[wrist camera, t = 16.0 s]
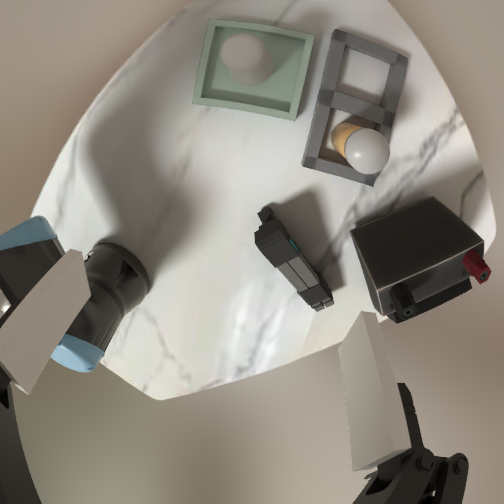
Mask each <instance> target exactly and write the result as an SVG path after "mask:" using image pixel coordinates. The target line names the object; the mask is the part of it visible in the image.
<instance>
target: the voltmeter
mask: <svg viewBox="0 0 504 504" xmlns="http://www.w3.org/2000/svg"><path fill="white" fill-rule="evenodd" d="M350 234H351V237H352V240H353V243H354V246H355V249H356V252H357V255H358V258H359V261H360V264H361V267H362V270H363V273H364V276H365V280H366V283H367V286H368V290H369V293H370V297H371V300H372V303H373V305H374V308H375V309H376V310H377V311H378V312H379V313H380V314H381V315H382V316H385V315H387V316H388V317H389V318H390V319H392V320H393V321H394V322H395V323H400V322H403V321H406V320H408V319H410V318H412V317H415V316H417V315H419V314H422V313H424V312H426V311H428V310H430V309H433V308H435V307H437V306H439V305H441V304H443V303H445V302H447V301H449V300H451V299H453V298H455V297H457V296H459V295H461V294H463V293H465V292H467V291H468V290H470V289H472V286H471V282H470V279H469V277H470V276H473V277H475V278H476V280H477V281H478V282H479V284H482V283H483V282H485V281H487V280H488V278H489V276H490V274H491V270H490V268H489V267H488V266H487V264H486V263H485V261H484V240H483V239H482V238H481V237H480V236H479V235H478V234H477V233H476V232H475V231H474V230H472V229H471V228H470V227H469V226H468V225H467V224H466V223H465V222H464V221H463V220H461V219H460V218H459V217H458V216H457V215H456V214H455V213H453V212H452V211H451V210H450V209H449V208H448V207H446V206H445V205H444V204H443V203H441V202H440V201H439V200H438V199H437V198H435V197H434V196H432V197H429V198H427V199H425V200H422V201H420V202H417V203H415V204H413V205H410V206H408V207H406V208H403V209H401V210H398V211H396V212H394V213H391V214H389V215H386V216H384V217H381V218H379V219H377V220H374V221H372V222H369V223H367V224H364V225H362V226H359V227H357V228H355V229H352V230H350Z"/></svg>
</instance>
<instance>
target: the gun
mask: <svg viewBox="0 0 504 504" xmlns="http://www.w3.org/2000/svg"><path fill="white" fill-rule="evenodd" d="M257 214H258V216H259V218H260V220H261V222H262V224H263V225H261V226H259V230H258V231H256V232H254V234H255V244H256V246H257V247H258V249H259V250H260V251H261V252H262V254H263V255H264V256H265V257H266V258H267V259H268V260H269V261H270V263H271V264H272V265H273V266H274V267H275V268H276V267H277V268H278V269H279V270H280V272H281V273H282V274H283V275H284V276H285V277H286V278H287V279H288V281H289V282H290V283H291V284H292V285H293V286H294V287H295V288H296V289H297V293H298V294H299V295H300V296H301V297H302V298H303V299H304V301H305V302H306V303H307V304H308V305H310V306H311V307H312V309H313V308H314V309H315V310H316V311H317V312H318V311H320V310H322V309H324V305H325V306H326V307H329V306H331V305H333V304H334V301H333V296H332V293H331V290H330V288H329V286H328V284H327V283H326V282H325V280H324V279H323V277H322V276H321V275H320V273H319V272H315V271H314V269H313V268H312V267H311V265H310V264H309V263H308V261H307V260H306V259H305V257H304V256H303V255H302V253H301V251H300V249H299V248H298V246H297V245H296V244H295V242H294V241H293V240H292V238H291V237H290V236H289V234H288V233H287V232H286V229H285V228H284V226H283V225H282V224H281V222H280V221H279V220H278V219H277V220H276V217H275V216H274V214H273V212H272V210H271V209H270V208H268V207H267V208H266V209H264V210H262V211H260V212H259V213H257Z"/></svg>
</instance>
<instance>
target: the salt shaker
mask: <svg viewBox="0 0 504 504" xmlns="http://www.w3.org/2000/svg"><path fill="white" fill-rule="evenodd" d="M220 55H221V59H222V62H223V63H224V64H225V65H226V67H227V68H228V69H229V71H230V74H231V76H232V77H233V78H234V79H235V80H236V81H237V82H238V83H241V84H244V85H246V86H247V85H259V84H261V83H263V82H265V81H267V80H268V78H269V77H270V76H271V75H272V74H273V69H274V61H273V58H272V56H271V55H270V54H269V52H268V51H267V50H266V49H265V45H264V43H263V42H262V41H261V40H260V39H259V38H258V37H257V36H254V35H251V34H249V33H237V34H235V35H233V36H230V37H228V38H227V39H226V41H225V42H224V43H223V44H222V47H221V51H220Z"/></svg>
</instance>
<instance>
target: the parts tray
mask: <svg viewBox="0 0 504 504" xmlns="http://www.w3.org/2000/svg"><path fill="white" fill-rule="evenodd" d="M237 33H249V34H251V35H254V36H257V37H258V38H259V39H260V40H261V41H262V42H263V43H264V45H265V49H266V50H267V51H268V52H269V54H270V55H271V56H272V58H273V61H274V69H273V74H272V75H271V76H270V77H269V78H268V80H267V81H265V82H263V83H261V84H259V85H247V86H246V85H244V84H241V83H238V82H237V81H236V80H235V79H234V78H233V77H232V76H231V74H230V71H229V69H228V68H227V67H226V65H225V64H224V63H223V62H222V59H221V55H220V51H221V47H222V44H223V43H224V42H225V41H226V39H227V38H228V37H230V36H233V35H235V34H237ZM314 37H315V35H312V34H308V33H304V32H299V31H295V30H290V29H286V28H280V27H275V26H269V25H263V24H256V23H249V22H240V21H230V20H216V19H209V23H208V27H207V31H206V36H205V40H204V45H203V49H202V54H201V59H200V63H199V68H198V74H197V79H196V84H195V90H194V96H193V102H192V104H200V105H208V106H216V107H223V108H230V109H236V110H242V111H248V112H254V113H259V114H264V115H269V116H274V117H278V118H283V119H287V120H291V121H295V119H296V115H297V111H298V107H299V102H300V98H301V94H302V90H303V85H304V81H305V77H306V72H307V68H308V64H309V59H310V55H311V50H312V46H313V42H314Z"/></svg>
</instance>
